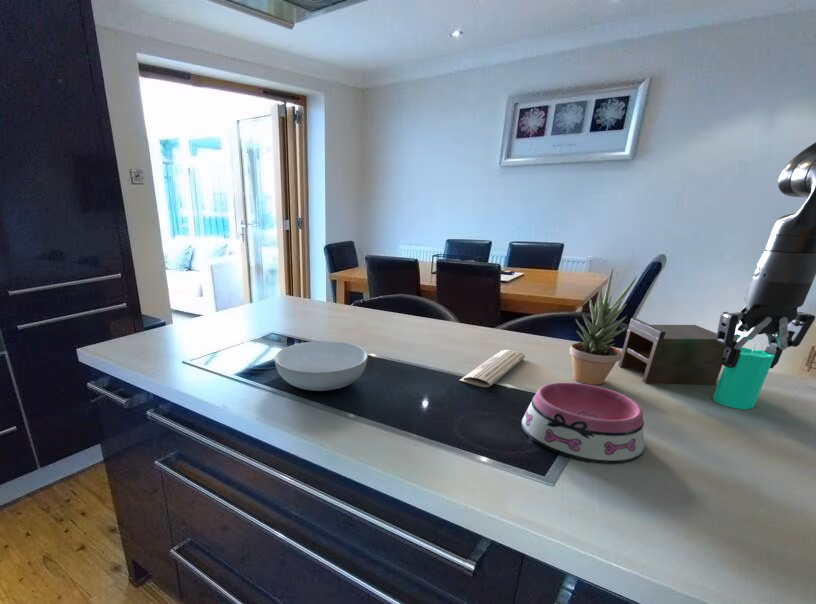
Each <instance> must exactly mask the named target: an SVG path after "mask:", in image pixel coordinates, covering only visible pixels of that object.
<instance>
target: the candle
mask: <svg viewBox="0 0 816 604" xmlns="http://www.w3.org/2000/svg"><path fill="white" fill-rule="evenodd" d="M756 346H757V344H754V346H753V348H747V347H744V346H743V347H742V348H741V349H740V350H741V352H740V355H739V357H738V360H737V363H736V365H735V367H734V368H728V367H726V366H724V365H723V366H724V367H723V369H722V372H721V374H720V377H719V380H718V382H717V385H716V387H715V391H714V393H713V396H712V400H713V401H714V402H715V403H718V404H720V405H722V406H725V407H729V408H732V409H733V408H734V409H740V410H751V409H753V408H754V407H755V404H756V402H757V400H758V397H759V395H760V392H761V390H762V388H763V385H764V384H765V383H764V382H765V380H766V378H767V375H768V373H769V371H770V369H771V368H770V366H771V364H772V361H773V359H774V357H775V356H774V355H770V354H769V353H767V352H765V350H763V349H755V348H756Z"/></svg>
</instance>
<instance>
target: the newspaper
mask: <svg viewBox="0 0 816 604" xmlns="http://www.w3.org/2000/svg"><path fill="white" fill-rule="evenodd" d="M525 358H526V354H524V353H523V352H520V351H517V350H513V349H503V350H500V351H498V352H496V353H495V354H494V355H492V356H490V357H489V358H488V359H487V360H485V361H484V362H482V363H481V364H479V365H478V366H477V367H475V368H474V369H473V370H471V371H470V372H468V373H467V374H465V375H464V376H463V377H462V378H460V379H459V380H458V381H461V382H464V383H466V384H470V385H473V386H477V387H481V388H490V387H491V386H493V385H494V384H495V383H496V382H497V381H498V380H500V379H501V378H502V377H503V376H505V375H506V374H507V373H508V372H509V371H511V370H512V369H513V368H514V367H515V366H517V365H518V364H519V363H520V362H522V361H523V360H524V359H525Z"/></svg>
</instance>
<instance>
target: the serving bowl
mask: <svg viewBox="0 0 816 604" xmlns="http://www.w3.org/2000/svg"><path fill="white" fill-rule="evenodd" d="M367 363H368V353H367V351H366V350H364V348H362V347H360V346H359V345H355V344H352V343H349V342H344V341H343V342H342V341H336V340H313V341H306V342H305V341H304V342H301V343H295V344H292V345H289V346H286V347H284V348H282V349H280V350H279V351H277V353H276V354H275V355H274V364H275V368H276V371H277V372H278V374H279V375H280V377H281V378H282V379H283V380H284V381H285V382H286V383H287V384H289V385H291V386H293V387H295V388H298V389H301V390H304V391H305V390H306V391H314V392H324V391H325V392H327V391H333V390H337V389H338V390H339V389H341V388H344V387H347V386H349V385H351V384H353V383H355V382H356V381H357V380H358V379H359V378H360V377H362V374H363V373H364V372H365V369H366V367H367Z"/></svg>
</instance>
